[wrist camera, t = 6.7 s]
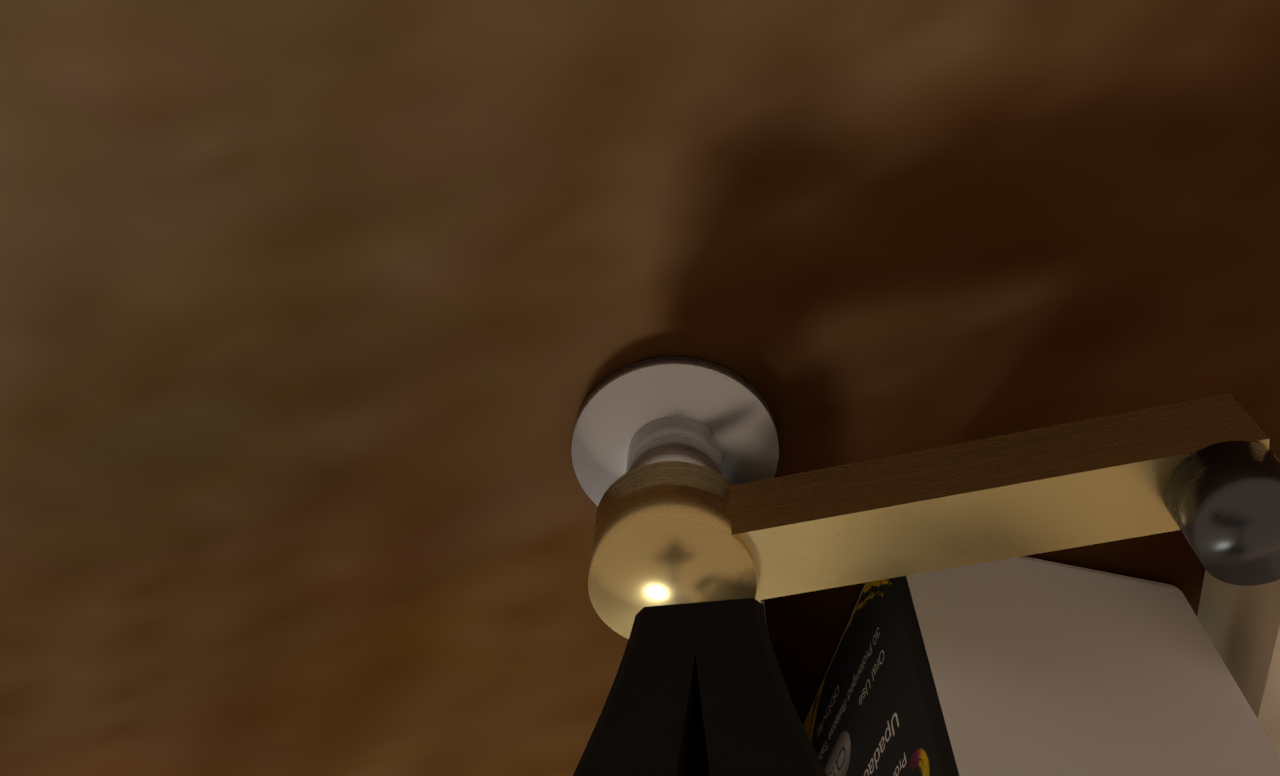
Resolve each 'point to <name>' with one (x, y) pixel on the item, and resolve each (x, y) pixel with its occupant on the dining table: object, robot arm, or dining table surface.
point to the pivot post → (673, 423)
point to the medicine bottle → (1031, 680)
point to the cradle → (1246, 642)
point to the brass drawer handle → (943, 510)
